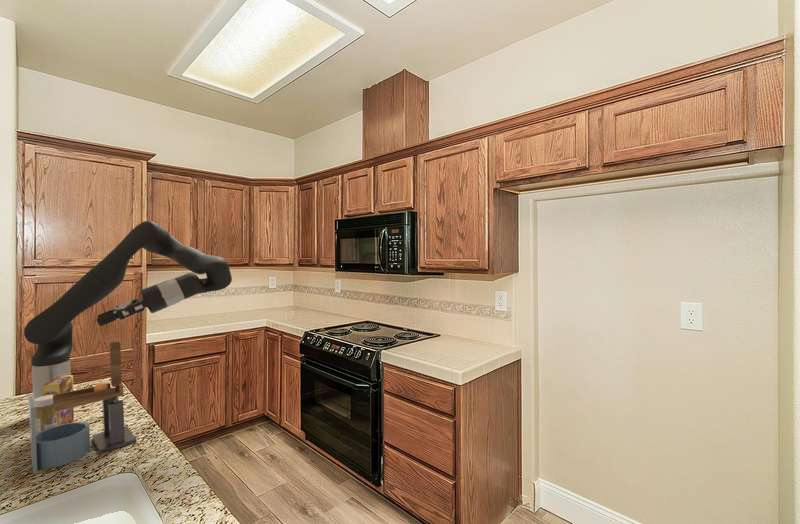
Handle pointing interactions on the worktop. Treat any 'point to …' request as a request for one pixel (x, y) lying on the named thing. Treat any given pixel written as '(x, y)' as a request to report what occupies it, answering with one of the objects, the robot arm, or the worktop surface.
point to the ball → (100, 387)
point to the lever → (88, 394)
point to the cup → (57, 442)
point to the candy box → (59, 387)
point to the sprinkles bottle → (44, 413)
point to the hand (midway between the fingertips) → (98, 320)
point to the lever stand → (113, 428)
